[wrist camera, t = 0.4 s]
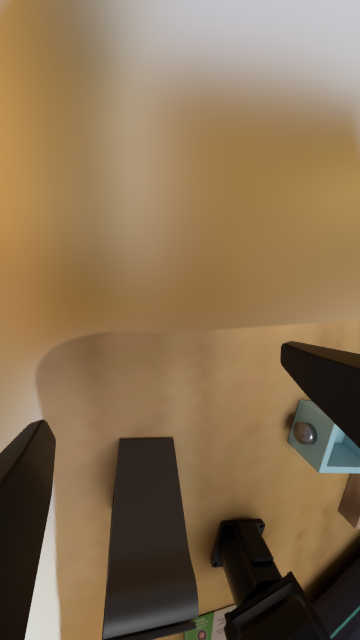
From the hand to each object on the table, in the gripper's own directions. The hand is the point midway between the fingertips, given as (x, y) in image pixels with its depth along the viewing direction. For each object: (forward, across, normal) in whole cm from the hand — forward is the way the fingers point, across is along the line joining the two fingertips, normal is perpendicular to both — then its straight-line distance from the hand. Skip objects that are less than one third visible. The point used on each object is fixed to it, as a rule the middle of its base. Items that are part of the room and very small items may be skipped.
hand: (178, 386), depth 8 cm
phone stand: (+11, +4, +20) cm, 23 cm away
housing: (+10, -20, +22) cm, 31 cm away
